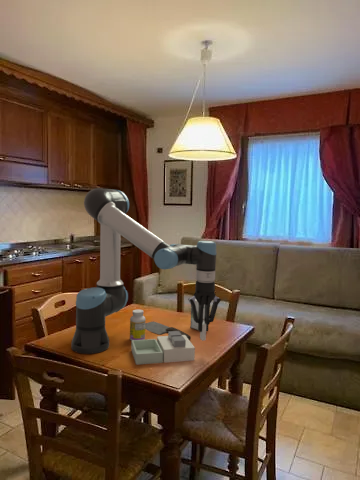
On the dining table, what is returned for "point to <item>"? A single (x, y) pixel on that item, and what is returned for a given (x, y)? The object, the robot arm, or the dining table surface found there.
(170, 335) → the slate tile
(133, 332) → the supplement bottle
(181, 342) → the slate tile
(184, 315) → the dining table surface
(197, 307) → the syrup box
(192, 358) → the plate
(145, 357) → the box
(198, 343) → the dining table surface
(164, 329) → the cleaver
